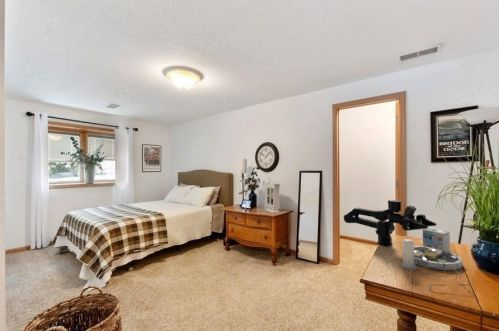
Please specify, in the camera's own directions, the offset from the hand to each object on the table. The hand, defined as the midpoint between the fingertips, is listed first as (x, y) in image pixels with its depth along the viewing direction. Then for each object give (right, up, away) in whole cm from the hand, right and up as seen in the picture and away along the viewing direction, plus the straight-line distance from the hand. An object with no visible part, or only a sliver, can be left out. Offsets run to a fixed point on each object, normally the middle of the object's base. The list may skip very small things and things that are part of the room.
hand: (431, 225), depth 122 cm
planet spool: (-19, -17, -10) cm, 28 cm away
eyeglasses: (-15, -18, -23) cm, 33 cm away
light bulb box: (+12, -17, +12) cm, 24 cm away
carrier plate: (-3, -17, -3) cm, 17 cm away
